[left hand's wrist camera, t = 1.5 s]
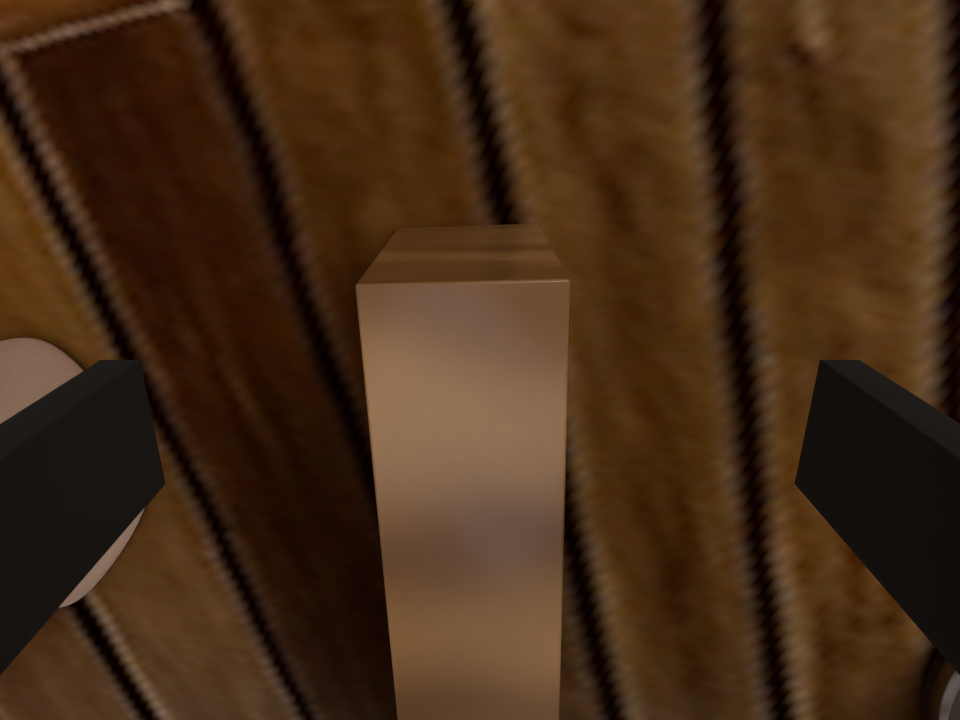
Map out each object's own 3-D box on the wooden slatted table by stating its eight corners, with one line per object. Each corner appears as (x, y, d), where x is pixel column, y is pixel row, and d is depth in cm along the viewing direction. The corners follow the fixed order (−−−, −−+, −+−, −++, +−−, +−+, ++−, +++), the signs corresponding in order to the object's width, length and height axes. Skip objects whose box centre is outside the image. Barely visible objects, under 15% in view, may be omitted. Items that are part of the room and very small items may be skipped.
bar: (397, 227, 25) (354, 284, 16) (539, 223, 25) (571, 278, 16) (433, 739, 35) (418, 941, 26) (535, 737, 35) (553, 939, 26)
